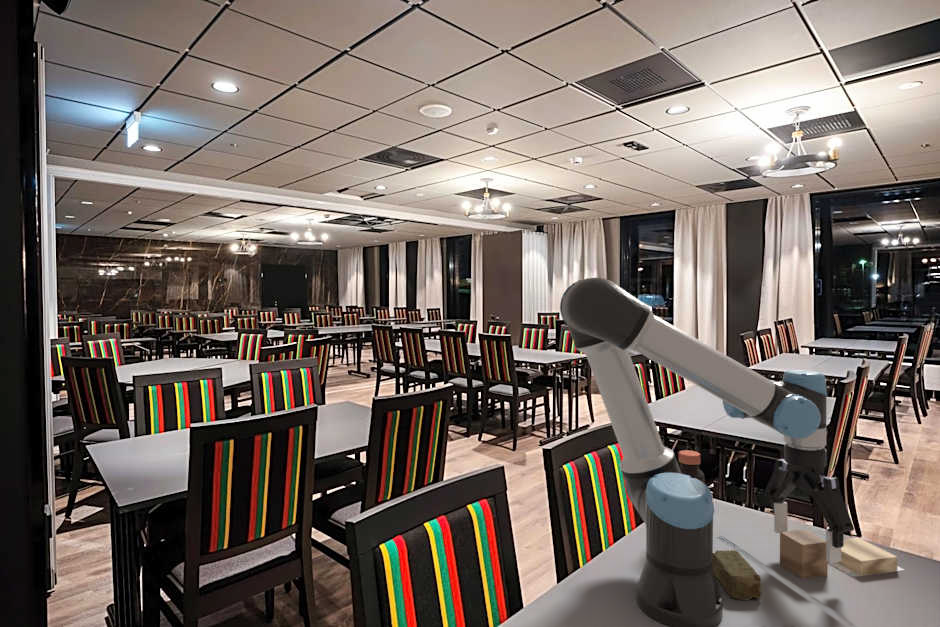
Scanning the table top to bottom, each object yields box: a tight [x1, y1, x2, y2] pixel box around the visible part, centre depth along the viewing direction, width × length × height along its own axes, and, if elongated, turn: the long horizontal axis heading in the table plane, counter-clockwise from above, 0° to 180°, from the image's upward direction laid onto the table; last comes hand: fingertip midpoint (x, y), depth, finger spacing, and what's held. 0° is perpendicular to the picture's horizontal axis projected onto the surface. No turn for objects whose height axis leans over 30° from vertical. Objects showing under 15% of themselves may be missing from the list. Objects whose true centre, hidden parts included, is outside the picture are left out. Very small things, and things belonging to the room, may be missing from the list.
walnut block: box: [779, 529, 829, 580], centre depth 111 cm, size 6×6×8 cm
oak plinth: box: [837, 537, 898, 577], centre depth 114 cm, size 9×9×3 cm
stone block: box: [712, 549, 762, 601], centre depth 107 cm, size 6×12×5 cm, turn 177°
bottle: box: [678, 449, 705, 484], centre depth 130 cm, size 7×7×20 cm
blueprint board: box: [828, 562, 905, 578], centre depth 114 cm, size 13×9×1 cm
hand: (805, 546), depth 111 cm, fingers open, 13 cm apart
